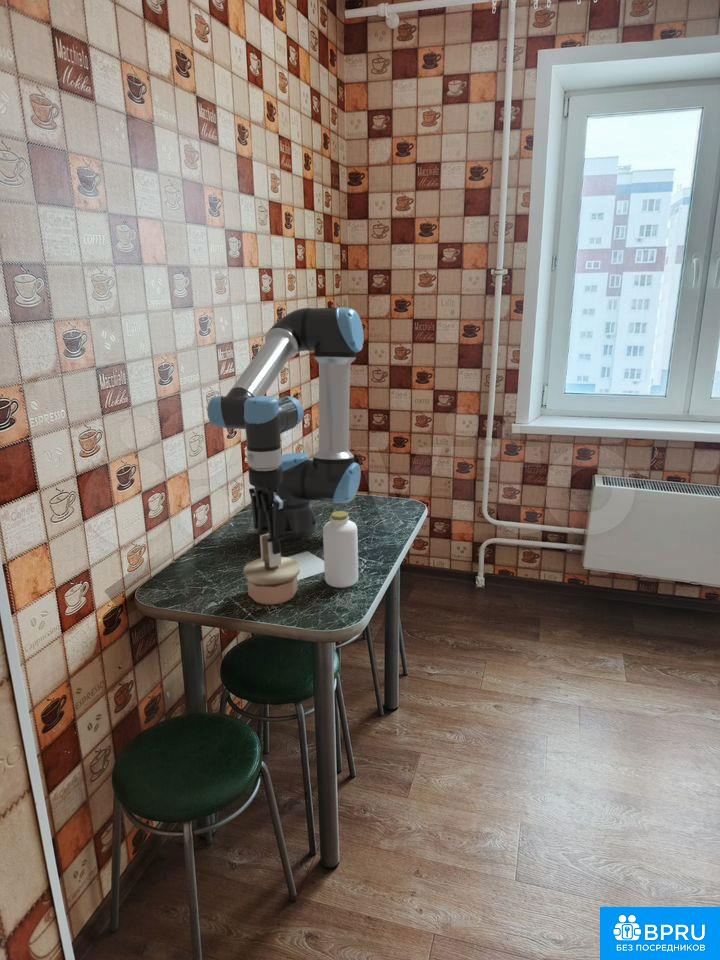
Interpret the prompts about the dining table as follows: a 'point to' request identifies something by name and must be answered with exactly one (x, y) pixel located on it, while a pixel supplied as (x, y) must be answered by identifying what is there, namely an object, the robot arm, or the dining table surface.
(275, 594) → the bowl
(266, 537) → the lid
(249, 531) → the dining table surface
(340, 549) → the white bottle
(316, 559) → the mat
